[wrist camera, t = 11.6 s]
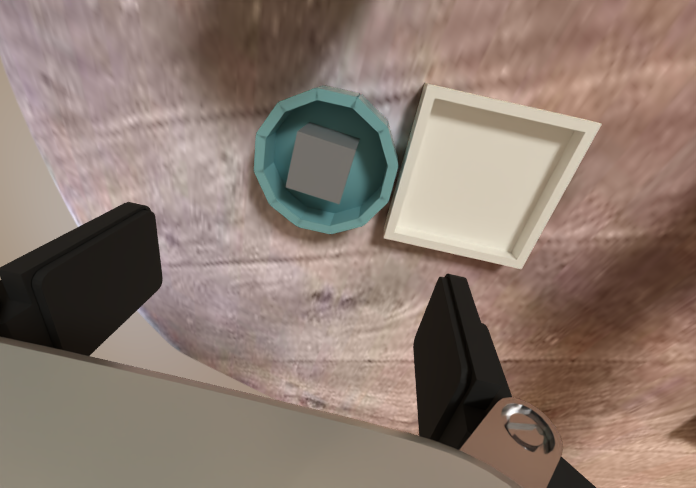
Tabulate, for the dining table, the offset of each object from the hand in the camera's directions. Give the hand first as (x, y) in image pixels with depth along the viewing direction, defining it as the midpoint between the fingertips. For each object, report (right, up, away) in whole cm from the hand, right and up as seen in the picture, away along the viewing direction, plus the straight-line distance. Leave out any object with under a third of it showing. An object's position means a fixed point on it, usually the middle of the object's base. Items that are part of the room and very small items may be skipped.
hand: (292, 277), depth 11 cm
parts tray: (+13, +7, +19) cm, 24 cm away
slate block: (0, +9, +19) cm, 21 cm away
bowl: (0, +9, +19) cm, 21 cm away
